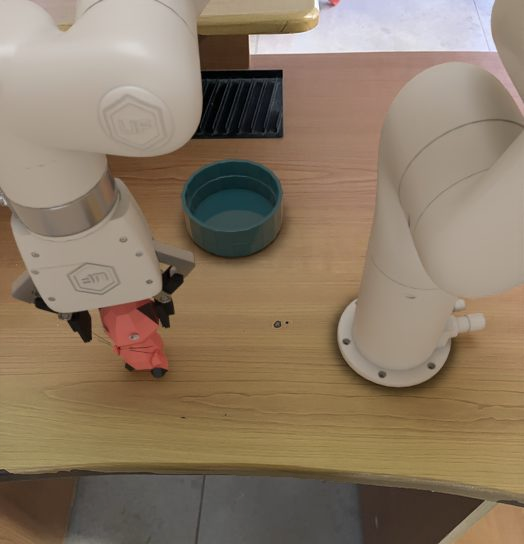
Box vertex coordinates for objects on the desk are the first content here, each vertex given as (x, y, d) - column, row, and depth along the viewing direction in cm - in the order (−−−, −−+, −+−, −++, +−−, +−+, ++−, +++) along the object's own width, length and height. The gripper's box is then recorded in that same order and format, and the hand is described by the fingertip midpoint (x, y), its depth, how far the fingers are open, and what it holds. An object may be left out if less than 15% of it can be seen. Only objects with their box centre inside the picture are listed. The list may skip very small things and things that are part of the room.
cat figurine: (107, 377, 62) (69, 315, 52) (133, 327, 66) (102, 259, 55) (166, 394, 61) (140, 333, 51) (190, 341, 64) (169, 274, 54)
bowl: (272, 181, 79) (272, 152, 74) (291, 250, 72) (291, 222, 68) (182, 195, 78) (176, 166, 74) (192, 265, 71) (186, 238, 67)
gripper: (-63, 249, 39) (39, 371, 55) (186, 206, 40) (218, 339, 55) (-51, 174, 43) (41, 308, 58) (176, 137, 44) (208, 279, 59)
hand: (126, 322), depth 57 cm, fingers closed on cat figurine, 7 cm apart
